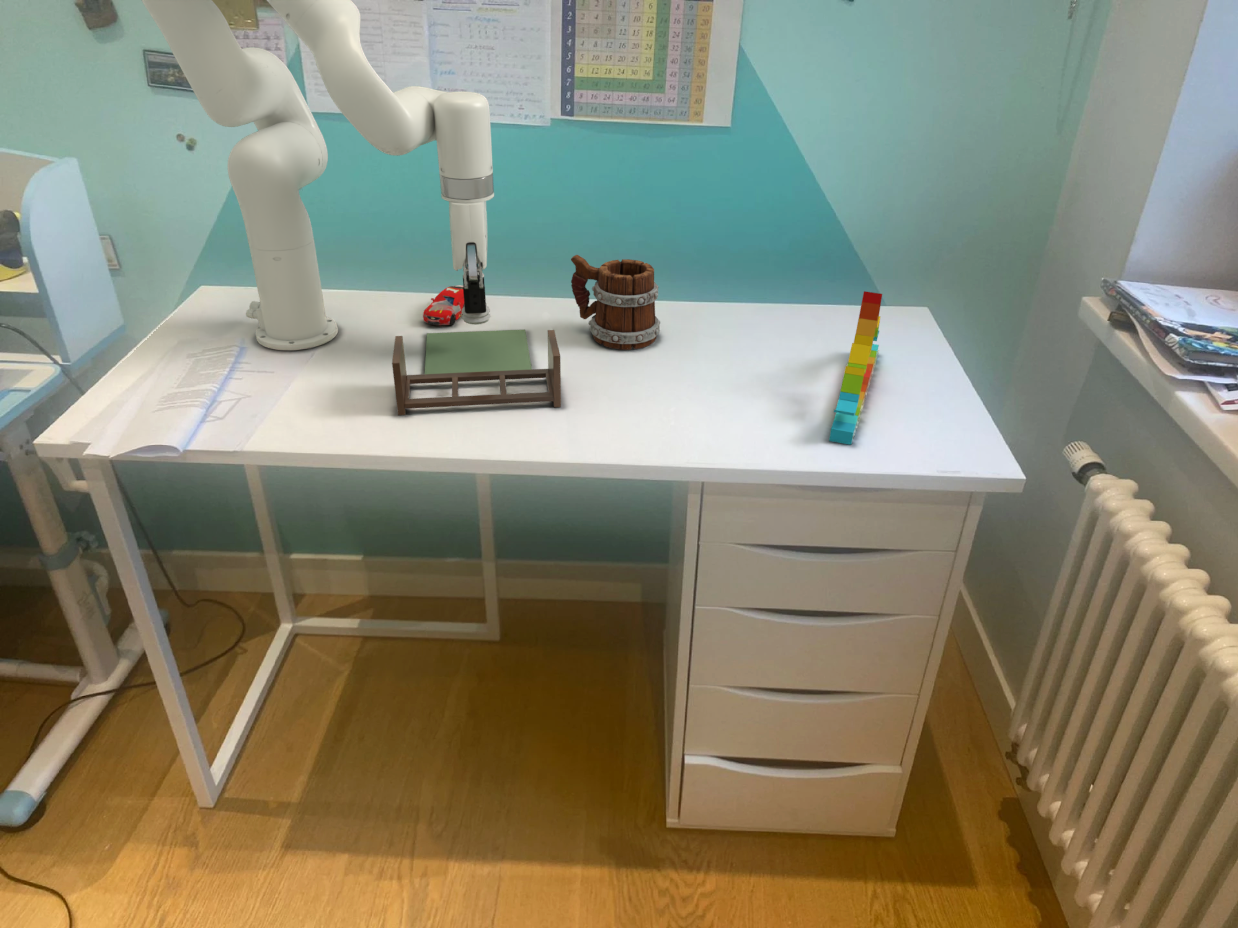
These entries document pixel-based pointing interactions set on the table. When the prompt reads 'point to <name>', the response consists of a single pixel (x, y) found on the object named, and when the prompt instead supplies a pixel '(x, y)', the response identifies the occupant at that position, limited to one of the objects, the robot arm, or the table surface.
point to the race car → (445, 307)
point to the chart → (858, 371)
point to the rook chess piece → (476, 314)
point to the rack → (404, 380)
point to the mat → (477, 351)
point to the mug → (618, 302)
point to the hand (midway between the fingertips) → (475, 306)
